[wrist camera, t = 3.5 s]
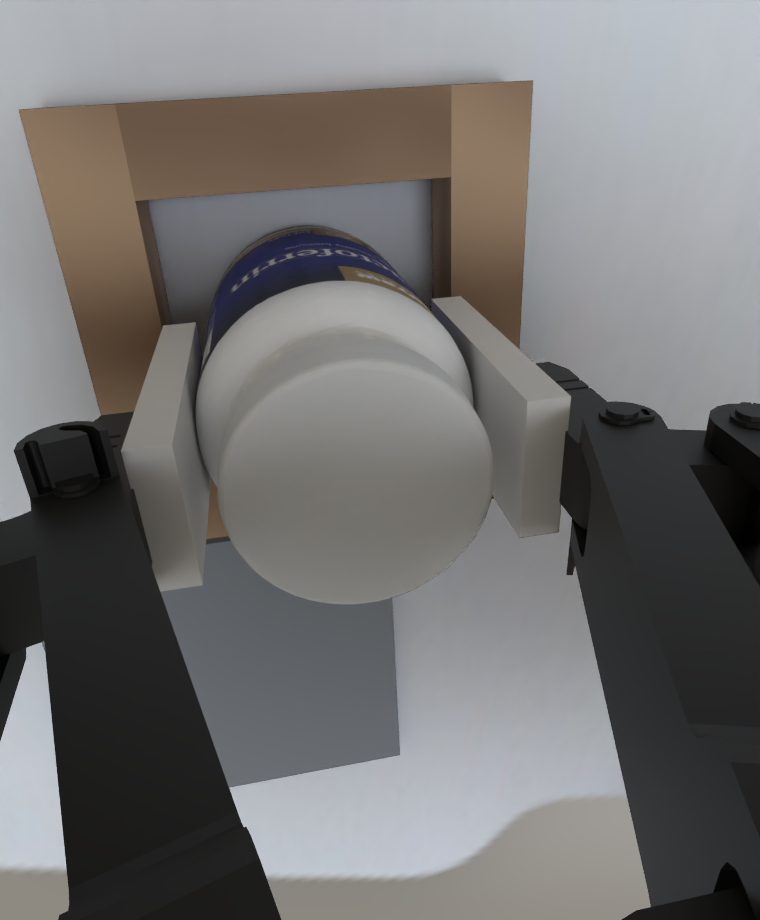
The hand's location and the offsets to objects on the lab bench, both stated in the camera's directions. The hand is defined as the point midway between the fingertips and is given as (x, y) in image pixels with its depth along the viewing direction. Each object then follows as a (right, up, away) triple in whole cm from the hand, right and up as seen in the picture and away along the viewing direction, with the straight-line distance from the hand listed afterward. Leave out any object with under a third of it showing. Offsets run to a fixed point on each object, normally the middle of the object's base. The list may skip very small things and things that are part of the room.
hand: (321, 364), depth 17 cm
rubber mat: (-4, -10, +9) cm, 14 cm away
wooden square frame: (-1, +2, +3) cm, 3 cm away
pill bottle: (-1, +2, +3) cm, 4 cm away
